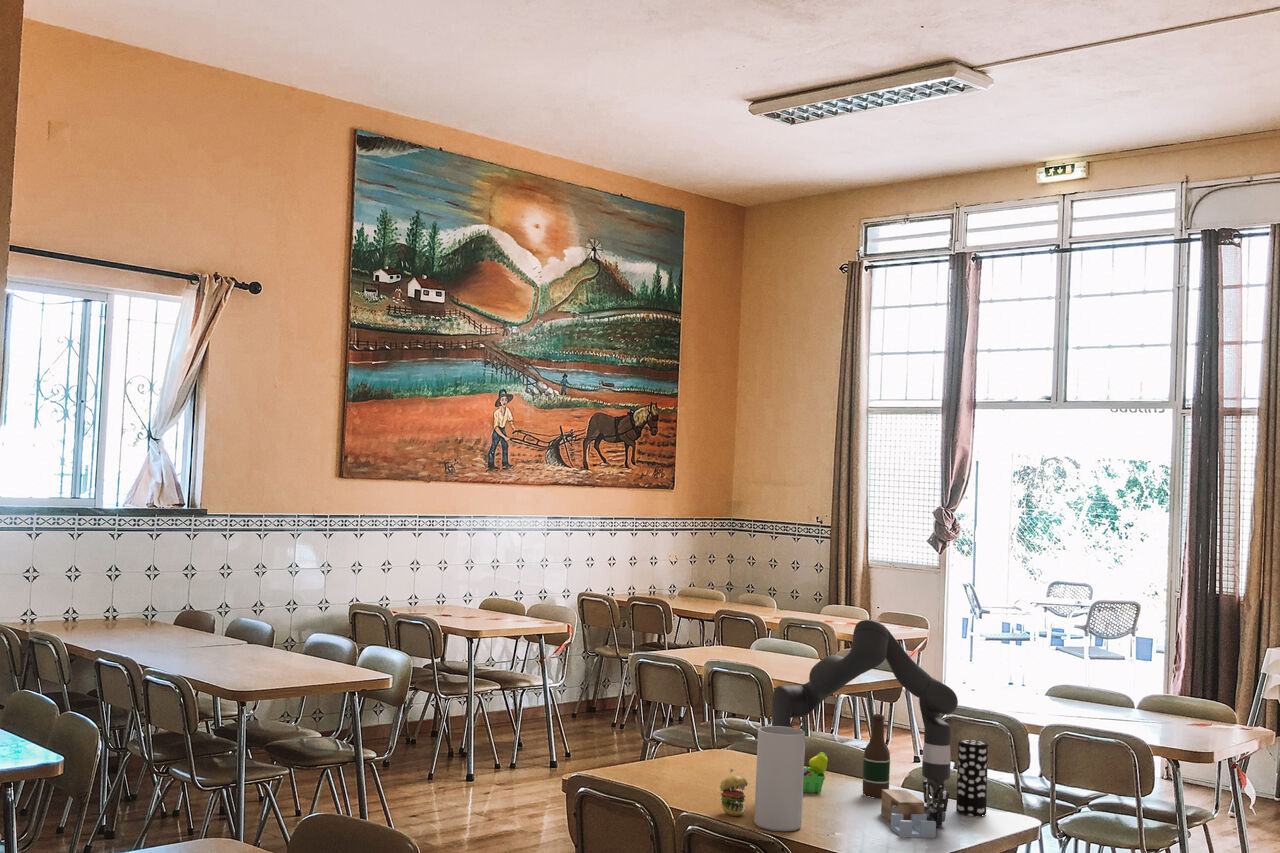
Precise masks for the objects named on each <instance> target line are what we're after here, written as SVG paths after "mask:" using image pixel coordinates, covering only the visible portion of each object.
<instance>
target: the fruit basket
mask: <svg viewBox="0 0 1280 853" xmlns="http://www.w3.org/2000/svg"><path fill="white" fill-rule="evenodd" d="M827 756H828V755H827V754H826V753H825V752H823V751H821V752H819V753H817V755H815V756H813V757H811V758H810V759H809V761H808V765H809V766H806V767H804V779H803V793H809V792H818V793H817V794H821V791H822V788H823V784H824V781H825V778H826V775H825V774H824V773H825V772H826V771H827V767H828V765H827V764H828V760H829V759H828V757H827Z"/></svg>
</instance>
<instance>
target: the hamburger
mask: <svg viewBox="0 0 1280 853" xmlns="http://www.w3.org/2000/svg"><path fill="white" fill-rule="evenodd" d="M729 772H730V774H732V773H733V772H735V769H733V768H729ZM719 786H720V787H719V789H720V791H721V794H720V796H721V798H720V800H721V804H720V806H721V808H722V810H723V812H724V813H726V814H728V815H730V816H733V817H740V816H742V815H743V814H744V813H745V812H746V807H745V805H744V802H746V799H745V798H746V795H745V794H744V791H745V787H747V786H748V782H747V779H746V778H745V777H743V776H741V775H735V774H734V775H730V776H728V777H725V778H724V779H723V780H721V782H720V785H719Z"/></svg>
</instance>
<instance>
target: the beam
mask: <svg viewBox="0 0 1280 853" xmlns="http://www.w3.org/2000/svg"><path fill="white" fill-rule="evenodd" d="M893 805H898V814H903V820H911V814H924V806H925V802H924V801H923V800H922V799H919V798H918V797H917V796H916V795H915V794H912V793H911V792H909V791H908V790H907V789H890V788H889V789H882V798H881V805H880V806H881V807H880V809H881V810H880V814H881V816H883V817H884V816H885V817H884V818H886V819H887V820H888V821H889V820H890V821H889V822H891V809H892V806H893Z"/></svg>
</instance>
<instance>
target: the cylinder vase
mask: <svg viewBox="0 0 1280 853" xmlns="http://www.w3.org/2000/svg"><path fill="white" fill-rule="evenodd" d="M756 747H757V748H756V749H757V750H756V774H755V794H754V819H753V822H754V824H755V825H756V826H757V827H759V828H760V829H764V830H766V831H771V832H772V831H774V832H794V831H797V830H799V829H801V827H802V824H803V822H802V818H803V803H802V798H804V792H803V773H804V768H805V754H804V748H806V731H804V730H802V729H799V728H795V727H794V728H791V727H782V726H772V725H767V726H761V727H758V729H757V746H756Z"/></svg>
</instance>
